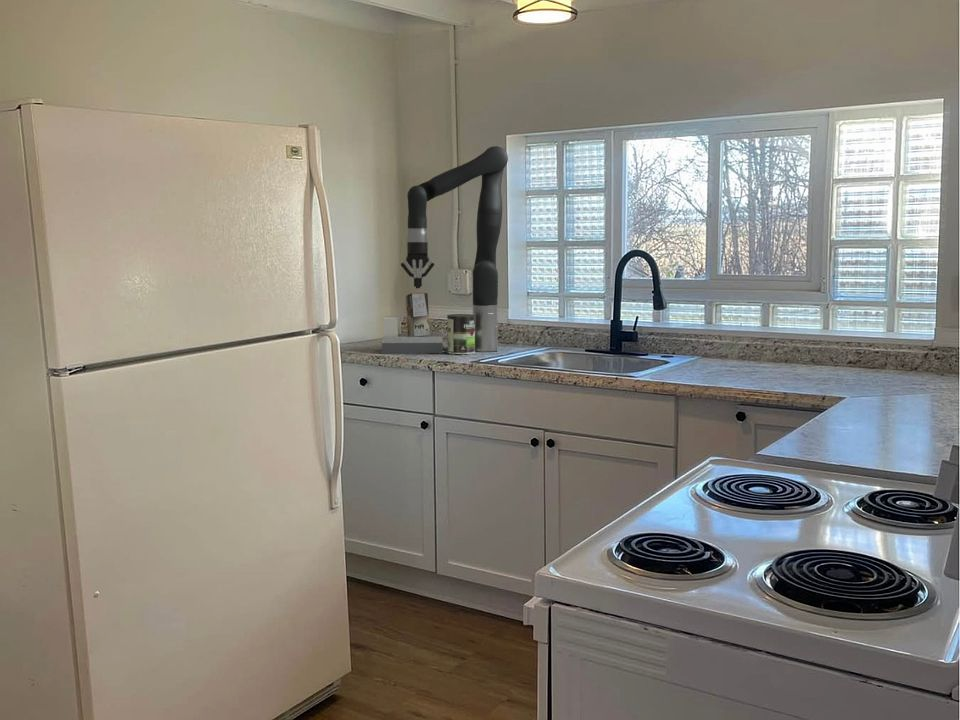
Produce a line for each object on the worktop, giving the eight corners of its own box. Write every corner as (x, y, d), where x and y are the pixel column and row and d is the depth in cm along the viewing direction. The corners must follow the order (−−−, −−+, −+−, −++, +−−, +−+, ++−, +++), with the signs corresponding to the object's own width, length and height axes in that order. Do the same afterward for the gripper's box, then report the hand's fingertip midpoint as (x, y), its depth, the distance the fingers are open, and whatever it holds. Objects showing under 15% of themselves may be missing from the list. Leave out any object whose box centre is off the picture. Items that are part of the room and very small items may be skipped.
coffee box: (430, 335, 334) (428, 292, 335) (414, 336, 332) (411, 292, 332) (423, 337, 343) (421, 295, 343) (407, 337, 341) (404, 295, 341)
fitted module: (398, 337, 342) (398, 316, 341) (397, 340, 333) (397, 318, 332) (385, 337, 342) (385, 316, 341) (383, 340, 333) (383, 318, 332)
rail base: (442, 349, 346) (442, 338, 345) (442, 353, 332) (442, 342, 331) (384, 349, 345) (384, 338, 344) (382, 354, 331) (381, 343, 331)
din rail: (442, 338, 345) (442, 333, 344) (442, 342, 332) (442, 336, 331) (384, 339, 344) (384, 333, 344) (382, 343, 331) (381, 337, 331)
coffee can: (480, 352, 335) (480, 314, 333) (463, 355, 327) (463, 316, 325) (459, 350, 341) (458, 313, 339) (441, 353, 333) (441, 315, 331)
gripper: (435, 241, 337) (435, 287, 339) (400, 241, 336) (400, 287, 339) (435, 241, 329) (435, 288, 332) (398, 241, 329) (399, 288, 331)
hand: (417, 288), depth 335 cm, fingers closed
